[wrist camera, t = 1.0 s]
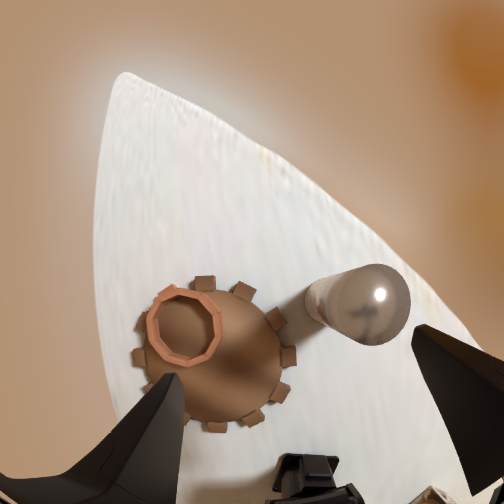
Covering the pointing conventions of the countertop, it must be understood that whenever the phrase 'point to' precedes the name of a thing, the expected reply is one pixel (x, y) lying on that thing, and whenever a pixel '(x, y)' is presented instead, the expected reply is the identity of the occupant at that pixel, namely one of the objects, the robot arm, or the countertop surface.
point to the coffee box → (434, 497)
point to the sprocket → (216, 351)
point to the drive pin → (361, 303)
